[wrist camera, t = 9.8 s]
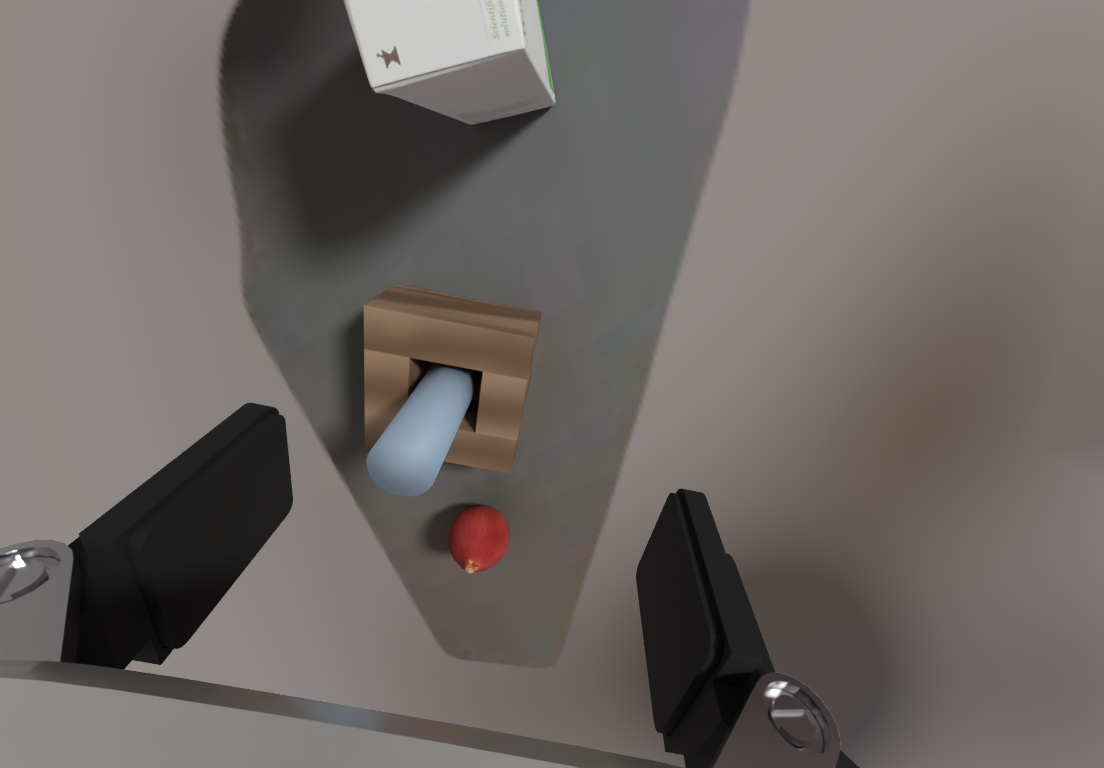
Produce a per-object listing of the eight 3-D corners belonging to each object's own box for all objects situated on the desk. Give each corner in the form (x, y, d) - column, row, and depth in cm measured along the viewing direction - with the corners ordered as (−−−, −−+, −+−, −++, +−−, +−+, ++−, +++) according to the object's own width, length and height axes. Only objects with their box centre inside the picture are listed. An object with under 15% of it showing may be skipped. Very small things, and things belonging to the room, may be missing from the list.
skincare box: (556, 107, 30) (535, 62, 16) (463, 128, 31) (367, 103, 17) (530, -55, 27) (475, -286, 13) (426, -25, 28) (268, -212, 14)
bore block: (395, 283, 36) (363, 305, 31) (541, 312, 37) (534, 338, 31) (392, 410, 42) (364, 447, 36) (520, 433, 42) (511, 473, 37)
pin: (437, 342, 37) (366, 433, 25) (485, 351, 38) (437, 447, 25) (434, 385, 39) (366, 490, 27) (480, 393, 39) (433, 502, 27)
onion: (511, 535, 48) (499, 600, 41) (457, 526, 48) (436, 591, 41) (517, 492, 45) (505, 554, 38) (460, 483, 45) (438, 544, 38)
